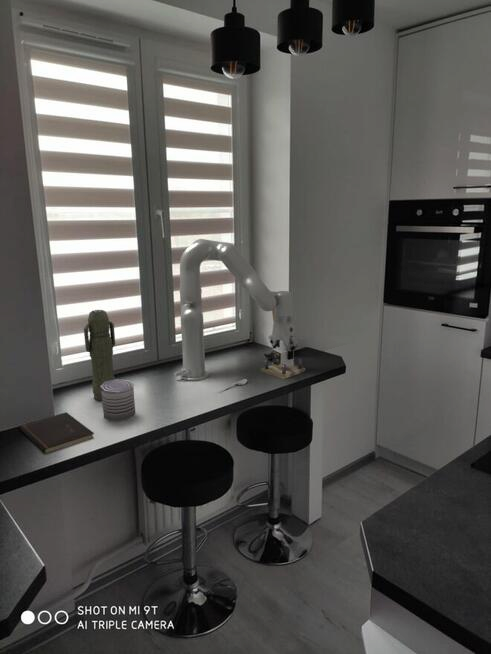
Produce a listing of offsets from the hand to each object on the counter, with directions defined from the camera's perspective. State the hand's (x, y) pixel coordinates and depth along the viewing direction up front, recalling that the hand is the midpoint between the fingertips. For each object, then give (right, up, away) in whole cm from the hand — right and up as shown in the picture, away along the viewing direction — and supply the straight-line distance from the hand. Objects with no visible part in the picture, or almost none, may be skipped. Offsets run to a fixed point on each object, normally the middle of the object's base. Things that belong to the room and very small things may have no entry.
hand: (282, 356), depth 220 cm
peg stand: (0, -7, +2) cm, 7 cm away
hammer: (+1, -2, +24) cm, 24 cm away
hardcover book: (-80, -23, -56) cm, 100 cm away
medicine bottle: (0, -4, +1) cm, 4 cm away
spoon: (-24, -12, -17) cm, 32 cm away
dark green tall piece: (-73, -15, -25) cm, 78 cm away
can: (-62, -19, -43) cm, 78 cm away
